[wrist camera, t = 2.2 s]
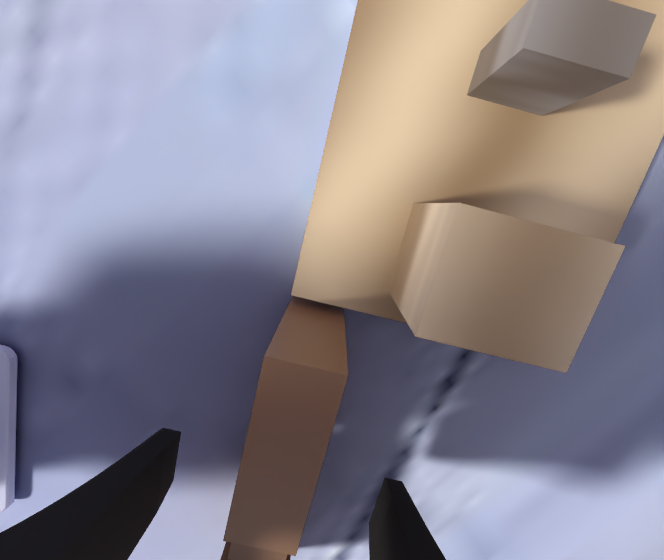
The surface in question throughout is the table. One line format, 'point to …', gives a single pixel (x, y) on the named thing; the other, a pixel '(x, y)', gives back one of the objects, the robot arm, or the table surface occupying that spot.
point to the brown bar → (288, 432)
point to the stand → (485, 167)
